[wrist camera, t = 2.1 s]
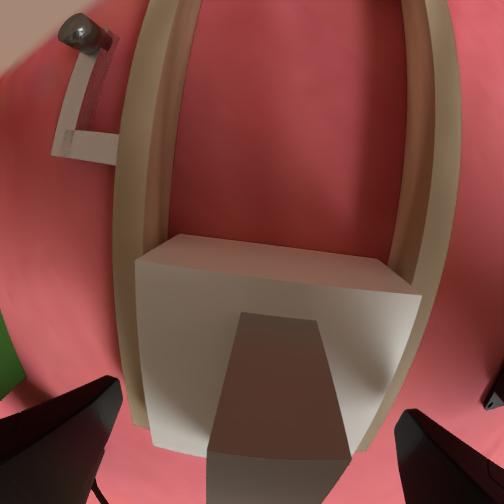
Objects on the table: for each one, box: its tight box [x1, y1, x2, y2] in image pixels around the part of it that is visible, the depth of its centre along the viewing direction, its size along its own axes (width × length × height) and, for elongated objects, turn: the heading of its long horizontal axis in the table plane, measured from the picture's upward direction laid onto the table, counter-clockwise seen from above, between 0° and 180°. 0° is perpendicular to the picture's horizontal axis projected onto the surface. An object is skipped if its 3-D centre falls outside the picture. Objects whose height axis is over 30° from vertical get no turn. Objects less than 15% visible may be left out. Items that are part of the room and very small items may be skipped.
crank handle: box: [51, 13, 120, 165], centre depth 9 cm, size 6×4×3 cm
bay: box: [112, 0, 462, 452], centre depth 9 cm, size 11×23×3 cm, turn 174°
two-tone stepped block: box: [135, 234, 422, 504], centre depth 8 cm, size 8×8×8 cm
